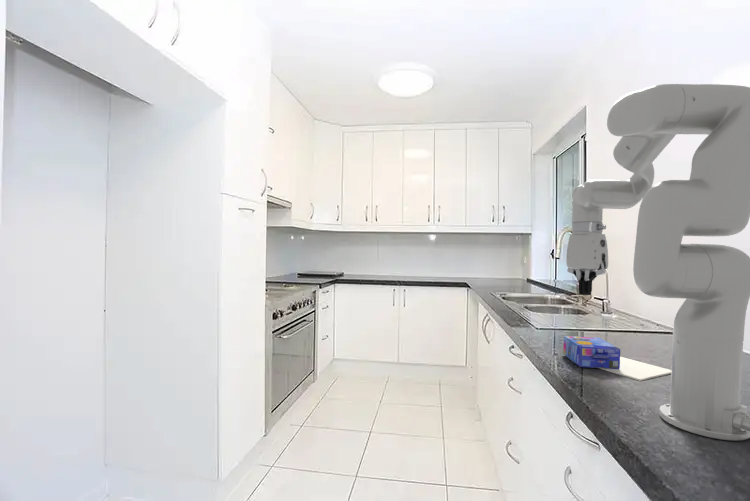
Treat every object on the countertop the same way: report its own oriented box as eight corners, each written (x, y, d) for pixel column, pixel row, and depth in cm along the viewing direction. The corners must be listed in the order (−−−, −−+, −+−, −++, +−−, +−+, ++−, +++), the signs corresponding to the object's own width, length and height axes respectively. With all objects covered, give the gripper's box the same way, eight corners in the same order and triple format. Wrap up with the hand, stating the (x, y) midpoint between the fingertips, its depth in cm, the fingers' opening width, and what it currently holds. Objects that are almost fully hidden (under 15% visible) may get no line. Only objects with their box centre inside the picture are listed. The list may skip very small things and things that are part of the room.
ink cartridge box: (600, 336, 112) (626, 351, 98) (599, 355, 113) (625, 374, 98) (563, 334, 113) (583, 349, 99) (562, 354, 114) (582, 371, 99)
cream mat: (674, 372, 101) (674, 371, 101) (639, 381, 94) (640, 379, 94) (611, 355, 115) (611, 354, 115) (577, 361, 108) (577, 360, 108)
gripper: (621, 229, 109) (619, 297, 109) (571, 230, 122) (570, 291, 122) (604, 227, 105) (602, 298, 105) (554, 229, 119) (553, 292, 119)
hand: (585, 294), depth 114 cm, fingers closed
